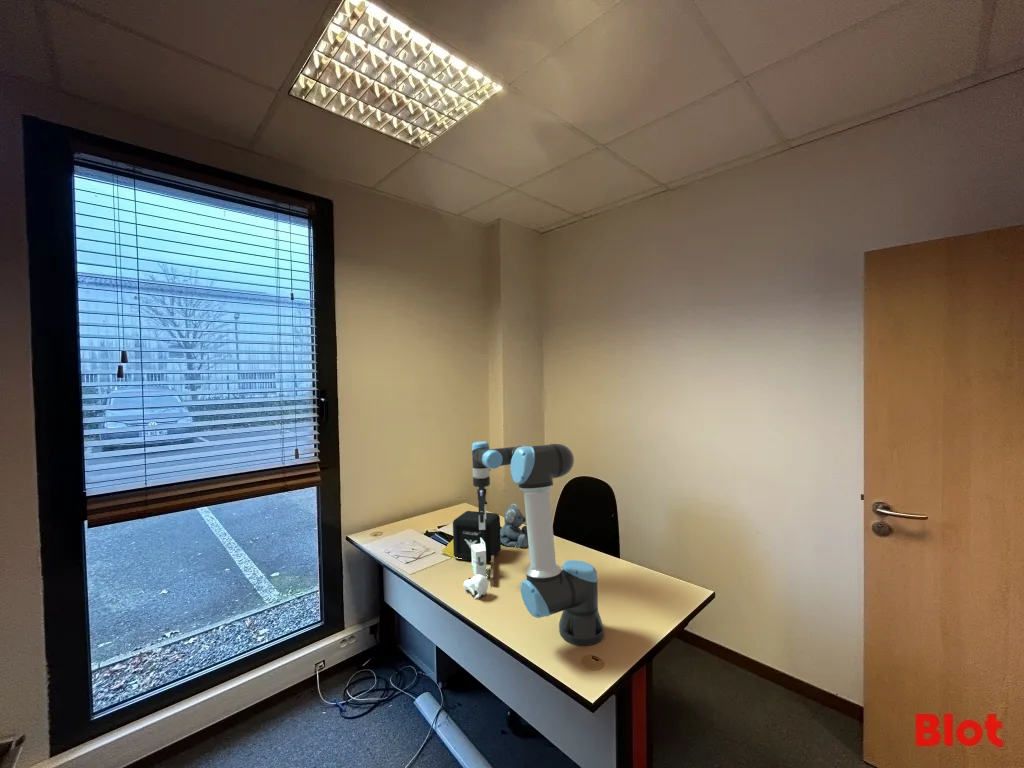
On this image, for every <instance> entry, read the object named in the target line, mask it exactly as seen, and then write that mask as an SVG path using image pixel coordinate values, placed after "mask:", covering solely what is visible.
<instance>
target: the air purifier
mask: <svg viewBox="0 0 1024 768" xmlns="http://www.w3.org/2000/svg"><path fill="white" fill-rule="evenodd" d="M477 513H479V511H471V510H466V511H464V512H463V513H461V514H460V515H459V516H458V517H456V518H454V520H453V521H452V543H453V544H452V545H453V556H455V557H458V558H462V559H466V560H472V556H471V545H474V544H481V540H480V537H481V538H482V540H483V541H484V542H485V546H486V564H490V563H491V555H494V558H495V557H496V556H497V555H498V554H499V553H500V552H501V550H502V549H501V545H502V544H501V540H500V529H501V517H500V515H499V514H498V513H495V512H486V519H485V530H479V515H477ZM482 543H483V542H482ZM483 544H484V543H483ZM455 557H454V558H455ZM466 560H465V561H466ZM489 562H490V563H489Z"/></svg>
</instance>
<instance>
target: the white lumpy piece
mask: <svg viewBox="0 0 1024 768" xmlns="http://www.w3.org/2000/svg"><path fill="white" fill-rule="evenodd" d="M489 584H490V581H489V579H488V578H486V577H485V576H483V575H480V574H478V575H475V576H473V577H472V578H471V579H466V580H464V582H463V588H464V589H463V590H464V591H466V590H469V591H468V592H470V593H471V595H473V597H474V598H478V599H480V598H481V596H482V595H483V596H485V595H486V594H487V591H488V589H489ZM475 592H477V594H476V595H475ZM474 595H475V596H474ZM479 597H480V598H479ZM474 598H473V599H474Z"/></svg>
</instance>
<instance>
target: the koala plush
mask: <svg viewBox="0 0 1024 768" xmlns="http://www.w3.org/2000/svg"><path fill="white" fill-rule="evenodd" d="M503 517H504V525H503V526H502V527H500V540H501V543H502V544H504V545H503V546H505V545H506V546H505V547H513V546H516V547H515V548H518V547H524V548H526V547H528V535H527V525H523V523H525V522H526V516H523V513H522V511H521V510H520V509H519V508H518V505H517V504H515V503H512V504H511V505H510V507H509V508H508V509H506V510H505V513H504V516H503ZM522 525H523V526H522ZM521 526H522V527H521ZM520 527H521V528H520ZM502 544H501V545H502Z"/></svg>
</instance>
